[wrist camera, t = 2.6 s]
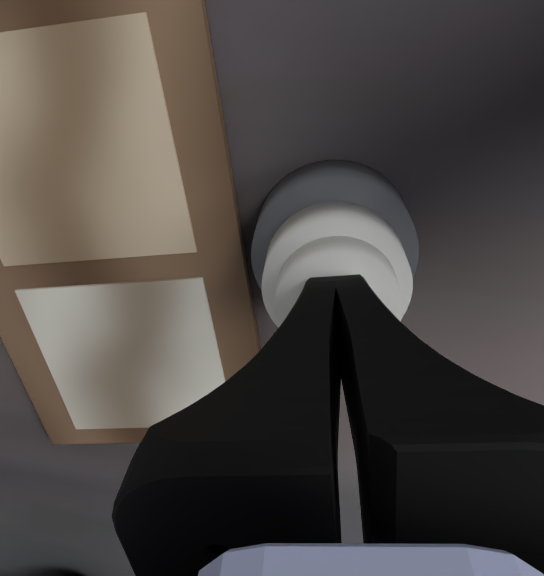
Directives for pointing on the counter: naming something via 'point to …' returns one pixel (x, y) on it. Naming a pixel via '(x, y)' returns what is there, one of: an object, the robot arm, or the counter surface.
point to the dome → (335, 256)
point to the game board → (117, 215)
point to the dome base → (332, 187)
